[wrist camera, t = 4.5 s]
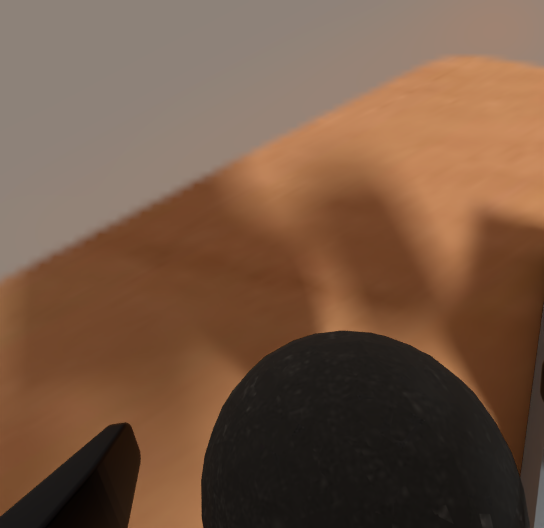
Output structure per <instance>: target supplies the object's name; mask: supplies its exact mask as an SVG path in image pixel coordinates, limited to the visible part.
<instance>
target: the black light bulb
mask: <svg viewBox="0 0 544 528" xmlns="http://www.w3.org/2000/svg"><path fill="white" fill-rule="evenodd" d="M201 494H202V522H203V528H530V522H529V516H528V510H527V504H526V499H525V493H524V488H523V485H522V482H521V479H520V476H519V473H518V470H517V467H516V464H515V461H514V458H513V456H512V453H511V451H510V449H509V447H508V445H507V443H506V441H505V440H504V438H503V436H502V434H501V432H500V430H499V428H498V426H497V425H496V423H495V421H494V419H493V418H492V417H491V415H490V414H489V413H488V411H487V410H486V408H485V407H484V406H483V404H482V403H481V402H480V400H479V399H478V397H477V396H476V395H475V393H474V392H473V391H472V390H471V389H470V388H469V387H468V386H467V385H466V384H465V383H464V382H463V381H462V380H460V379H459V378H458V377H457V376H455V375H454V374H453V373H452V372H450V371H449V370H448V369H447V368H445V367H444V366H443V365H442V364H440V363H439V362H438V361H437V360H435V359H434V358H433V357H431V356H430V355H428V354H426V353H424V352H422V351H420V350H418V349H416V348H414V347H412V346H411V345H408V344H405V343H403V342H400V341H397V340H394V339H392V338H389V337H386V336H383V335H377V334H374V333H367V332H354V331H335V332H327V333H317V334H313V335H310V336H306V337H303V338H300V339H297V340H294V341H292V342H290V343H288V344H286V345H284V346H283V347H281V348H279V349H277V350H276V351H274V352H272V353H270V354H269V355H267V356H265V357H264V358H263V359H262V360H261V361H260V362H259V363H258V364H257V365H255V366H254V367H253V368H252V369H251V370H250V371H249V372H248V373H247V375H246V376H245V377H244V378H243V379H242V381H241V382H240V383H239V384H238V385H237V386H236V387H235V389H234V390H233V391H232V393H231V394H230V396H229V398H228V399H227V401H226V402H225V404H224V405H223V407H222V409H221V411H220V414H219V416H218V419H217V421H216V423H215V426H214V428H213V431H212V434H211V437H210V440H209V444H208V447H207V450H206V453H205V458H204V465H203V472H202V479H201Z"/></svg>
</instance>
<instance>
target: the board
mask: <svg viewBox="0 0 544 528" xmlns="http://www.w3.org/2000/svg"><path fill="white" fill-rule="evenodd" d="M543 361H544V304H543V312H542V319H541V327H540V334H539V342H538V349H537V357H536V364H535V371H534V379H533V386H532V394H531V401H530V409H529V416H528V424H527V431H526V438H525V446H524V453H523V461H522V468H521V476H520V479H521V482H522V485H523V488H524V493H525V499H526V504H527V510H528V516H529V522H530V528H544V402H543V400H542V398H541V395H540V382H541V369H542V363H543Z"/></svg>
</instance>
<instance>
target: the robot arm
mask: <svg viewBox="0 0 544 528" xmlns="http://www.w3.org/2000/svg"><path fill="white" fill-rule="evenodd" d="M540 395H541V398H542V400H543V402H544V361H543V363H542V369H541V382H540ZM140 461H141V455H140V450H139V447H138V444H137V441H136V438H135V435H134V432H133V430H132V427H131V425H130V424H129V423H126V422H125V423H118V424H112V425H109V426H108V427H106V428H105V429H104V430H103V431H102V432H100V433H99V434H98V435H97V436H96V437H94V438H93V439H92V440H91V441H90V442H88V443H87V444H86V445H85V446H84V447H83V448H81V449H80V450H79V451H78V452H77V453H75V454H74V455H73V456H72V457H71V458H69V459H68V460H67V461H66V462H65V463H64V464H62V465H61V466H60V467H59V468H58V469H56V470H55V471H54V472H53V473H52V474H50V475H49V476H48V477H47V478H46V479H45V480H43V481H42V482H41V483H40V484H39V485H37V486H36V487H35V488H34V489H33V490H31V491H30V492H29V493H28V494H27V495H26V496H24V497H23V498H22V499H21V500H20V501H18V502H17V503H16V504H15V505H14V506H12V507H11V508H10V509H9V510H8V511H7V512H5V513H4V514H3V515H2V516H1V517H0V528H128V523H129V518H130V513H131V508H132V503H133V498H134V493H135V488H136V482H137V477H138V472H139V467H140Z"/></svg>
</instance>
